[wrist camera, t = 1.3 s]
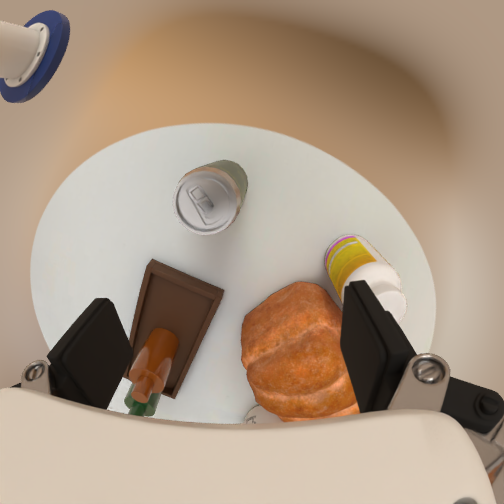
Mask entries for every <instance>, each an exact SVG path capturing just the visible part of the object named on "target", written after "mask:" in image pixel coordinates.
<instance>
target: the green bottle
mask: <svg viewBox="0 0 504 504" xmlns="http://www.w3.org/2000/svg"><path fill="white" fill-rule="evenodd" d="M134 386H135V385H134V384H133V383H132V384H131V386H130V388H129V391H128V393H127V395H126V397H125V399H124V402H125V404H126V406H127V407H128V408H129V409H130V411H129V413H128V414H130V415H136V416H142V417H144V416H153V415H154V414H155V411H156V408H157V405H158V402H159V400H160V397H161V394H162V392H160V393H151V395H150V397H149V400H148V402H147V403H141V402H138V401H136V400H135V399H133V398H132V396H131V392H132V390H133V388H134Z"/></svg>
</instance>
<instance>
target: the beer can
mask: <svg viewBox="0 0 504 504" xmlns="http://www.w3.org/2000/svg"><path fill="white" fill-rule="evenodd" d="M247 186H248V180H247V175H246V173H245V171H244V170H243V169H242V168H241V167H240V166H239V165H238V164H237V163H235V162H233V161H228V160H221V161H216V162H213V163H210V164H207V165H204V166H201V167H198V168H196V169H194V170H192V171H190V172H188V173H187V174H185V176H184V177H183V178H182V179H181V180H180V181H179V183H178V185H177V187H176V189H175V192H174V195H173V208H174V213H175V215H176V217H177V219H178V220H179V222H180V223H181V224H182V225H183V226H184V227H185V228H186V229H188V230H190V231H192V232H193V233H196V234H201V235H210V234H215V233H218V232H220V231H222V230H224V229H226V228H228V227H229V226H230V225H231V224H232V223H233V222H234V221H235V219H236V217H237V215H238V214H239V212H240V209H241V206H242V203H243V200H244V197H245V194H246V191H247Z"/></svg>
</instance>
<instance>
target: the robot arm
mask: <svg viewBox="0 0 504 504" xmlns="http://www.w3.org/2000/svg"><path fill="white" fill-rule="evenodd" d="M49 36H50V34H49V28H48V27H47V25H45V24H43V23H35V24H33V25H31V26H30V27H28V28H26V27H23V26H19V25H15V24H12V23H7V22H3V21H0V78H4V80H5V83H6V84H7V85H8V86H9V87H19V86H21V85H22V84H24V83H25V82H26V81H27V80H28V79H29V78H30V77H31V76H32V75H33V73H34V72H35V71H36V69H37V68H38V66H39V64H40V63H41V61H42V59H43V57H44V55H45V52H46V49H47V46H48V43H49ZM340 348H341V352H342V355H343V358H344V361H345V364H346V367H347V371H348V374H349V377H350V380H351V384H352V387H353V390H354V393H355V397H356V400H357V404H358V407H359V411H360V414H353V415H345V416H339V417H332V418H324V419H316V420H306V421H295V422H282V423H264V424H214V423H195V422H182V421H172V420H163V419H155V418H148V417H142V416H136V415H130V414H124V413H119V412H114V411H109V410H107V408H108V406H109V403H110V401H111V399H112V397H113V395H114V393H115V391H116V389H117V387H118V385H119V383H120V381H121V379H122V377H123V375H124V373H125V371H126V369H127V367H128V365H129V363H130V361H131V359H132V357H133V349H132V347H131V344H130V342H129V340H128V338H127V336H126V333H125V331H124V329H123V326H122V324H121V321H120V319H119V316H118V314H117V311H116V309H115V306H114V304H113V302H111V301H110V300H109V299H108V298H96V299H94V301H93V302H92V303H91V304H90V305H89V306H88V307H87V308H86V309H85V311H84V312H83V313H82V314H81V315H80V316H79V317H78V319H77V320H76V321H75V322H74V323H73V324H72V326H71V327H70V328H69V329H68V330H67V331H66V333H65V334H64V335H63V336H62V337H61V339H60V340H59V341H58V342H57V344H56V345H55V346H54V347H53V349H52V350H51V351H50V352H49V354H48V355H47V358H48V359H49V361H50V362H51V365H50V366H49V365H48V364H47V362H46V361H43V360H37V361H34V362H32V363H30V364H29V365H28V366H27V367H26V368H25V369H24V371H23V373H22V378H21V383H19V384H17V385H14V386H12V387H10V388H3V389H0V504H504V401H503V399H502V397H501V396H500V395H499V394H498V393H497V392H495V391H493V390H490V389H487V388H483V387H480V386H477V385H474V384H471V383H468V382H465V381H462V380H459V379H456V378H453V377H450V368H449V365H448V364H447V362H446V361H445V360H444V359H442V358H441V357H439V356H437V355H435V354H429V353H424V354H419V355H417V354H416V352H415V351H414V349H413V347H412V346H411V344H410V342H409V341H408V339H407V337H406V336H405V334H404V333H403V331H402V329H401V328H400V326H399V325H398V323H397V322H396V320H395V318H394V317H393V315H392V314H391V313H390V312H389V311H385V310H384V308H383V306H382V305H381V303H380V302H379V300H378V299H377V297H376V296H375V294H374V293H373V291H372V290H371V288H370V287H369V285H368V284H367V282H366V281H365V280H358V281H350V282H349V286H345V288H344V301H343V314H342V325H341V335H340Z"/></svg>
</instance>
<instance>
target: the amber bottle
mask: <svg viewBox="0 0 504 504" xmlns="http://www.w3.org/2000/svg"><path fill="white" fill-rule="evenodd" d="M179 345H180V344H179V340H178V338H177V337H176V335H175V334H173V333H172V332H171V331H169V330H167V329H164V328H155V329H153V330H151V331H150V333H149V335H148V337H147V339H146V340H145V342H144V344H143V346H142V348H141V350H140V352H139V354H138V356H137V358H136V360H135V362H134V364H133V366H132V368H131V370H130V372H129V378H130V380H131V382H132V383H133V384H134V385H135V386H134V388H133V390H132V392H131V396H132V398H133V399H135V400H136V401H138V402H141V403H147V402H148V400H149V397H150V395H151V393H160V392H162V391H163V390H164V387H165V385H166V382H167V379H168V376H169V373H170V371H171V368H172V365H173V362H174V360H175V357H176V354H177V351H178V349H179Z"/></svg>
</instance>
